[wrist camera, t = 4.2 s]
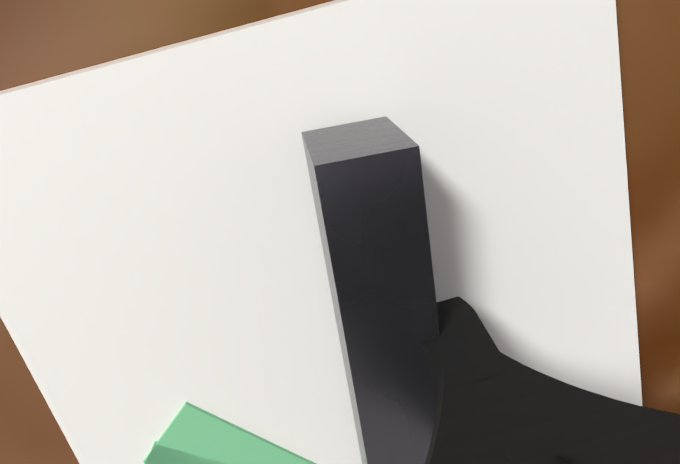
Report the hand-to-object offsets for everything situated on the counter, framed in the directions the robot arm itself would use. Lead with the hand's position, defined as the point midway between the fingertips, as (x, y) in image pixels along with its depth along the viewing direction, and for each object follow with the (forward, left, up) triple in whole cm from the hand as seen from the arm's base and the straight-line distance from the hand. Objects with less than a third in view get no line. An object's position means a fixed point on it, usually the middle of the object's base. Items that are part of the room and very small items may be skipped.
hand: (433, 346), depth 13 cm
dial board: (+2, +6, -3) cm, 7 cm away
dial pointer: (+1, +2, -1) cm, 2 cm away
